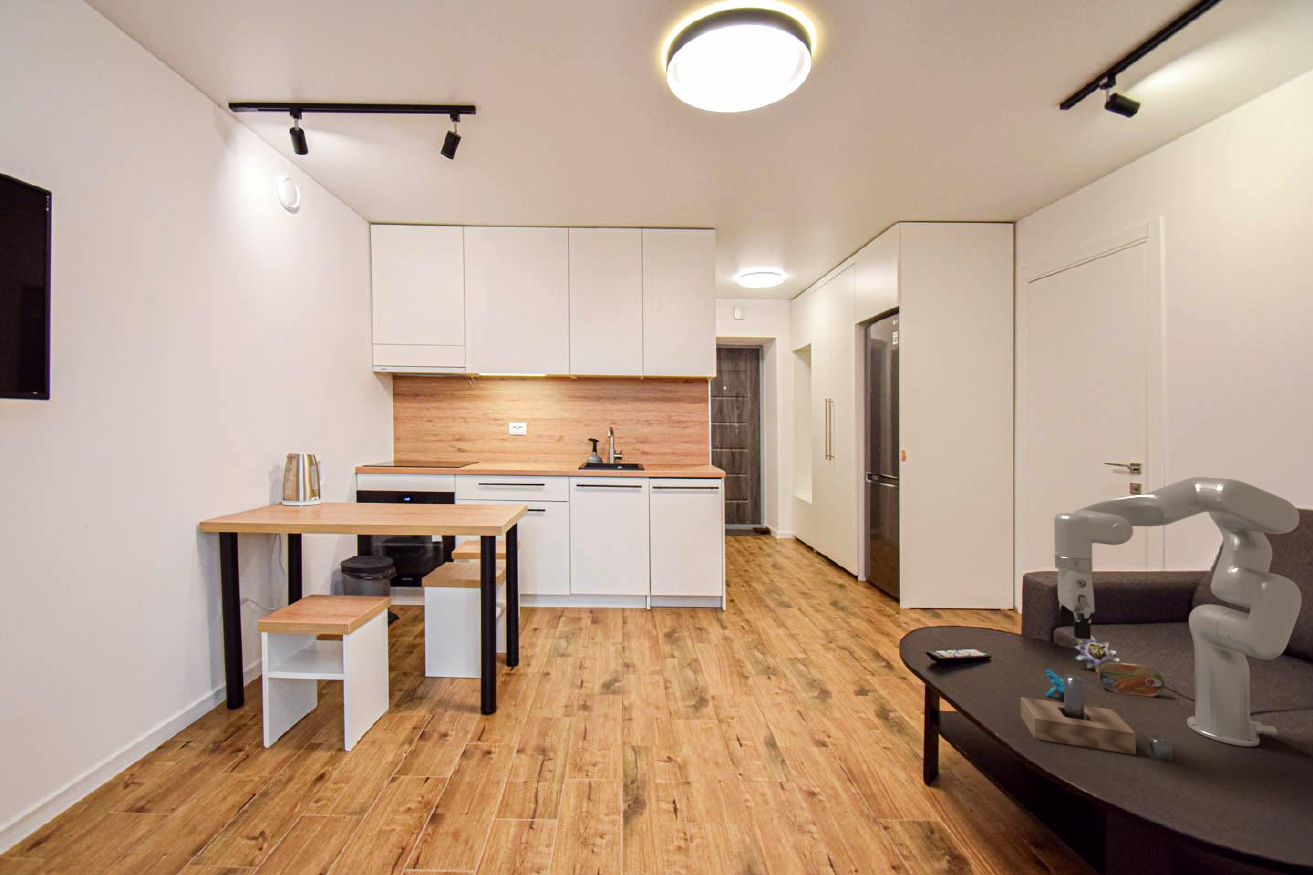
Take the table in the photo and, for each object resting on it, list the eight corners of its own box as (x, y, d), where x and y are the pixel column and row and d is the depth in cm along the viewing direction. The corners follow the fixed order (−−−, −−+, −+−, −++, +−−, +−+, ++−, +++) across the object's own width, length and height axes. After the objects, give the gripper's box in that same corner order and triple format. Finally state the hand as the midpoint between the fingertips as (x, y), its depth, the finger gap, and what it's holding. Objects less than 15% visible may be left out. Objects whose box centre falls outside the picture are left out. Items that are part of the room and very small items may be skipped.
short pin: (1166, 753, 127) (1166, 736, 128) (1176, 763, 124) (1176, 745, 124) (1145, 750, 129) (1145, 733, 129) (1154, 759, 125) (1154, 742, 125)
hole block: (1112, 729, 138) (1112, 709, 138) (1135, 754, 127) (1135, 733, 127) (1020, 715, 145) (1020, 697, 145) (1035, 738, 134) (1034, 718, 134)
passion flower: (1097, 689, 173) (1075, 658, 173) (1081, 669, 184) (1059, 640, 184) (1134, 673, 170) (1111, 642, 170) (1115, 654, 180) (1093, 625, 180)
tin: (1099, 690, 160) (1099, 661, 160) (1095, 686, 163) (1095, 657, 163) (1165, 699, 155) (1164, 669, 155) (1159, 694, 158) (1159, 665, 158)
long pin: (1080, 731, 137) (1080, 675, 137) (1087, 739, 134) (1086, 682, 134) (1061, 728, 139) (1061, 673, 139) (1067, 736, 135) (1067, 679, 135)
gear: (1080, 705, 148) (1048, 671, 153) (1061, 716, 150) (1030, 682, 155) (1082, 696, 156) (1051, 664, 161) (1063, 707, 158) (1034, 675, 164)
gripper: (1106, 572, 127) (1108, 645, 127) (1077, 557, 143) (1078, 622, 143) (1068, 569, 130) (1069, 641, 129) (1044, 555, 146) (1045, 619, 146)
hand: (1074, 631), depth 136 cm, fingers open, 9 cm apart
